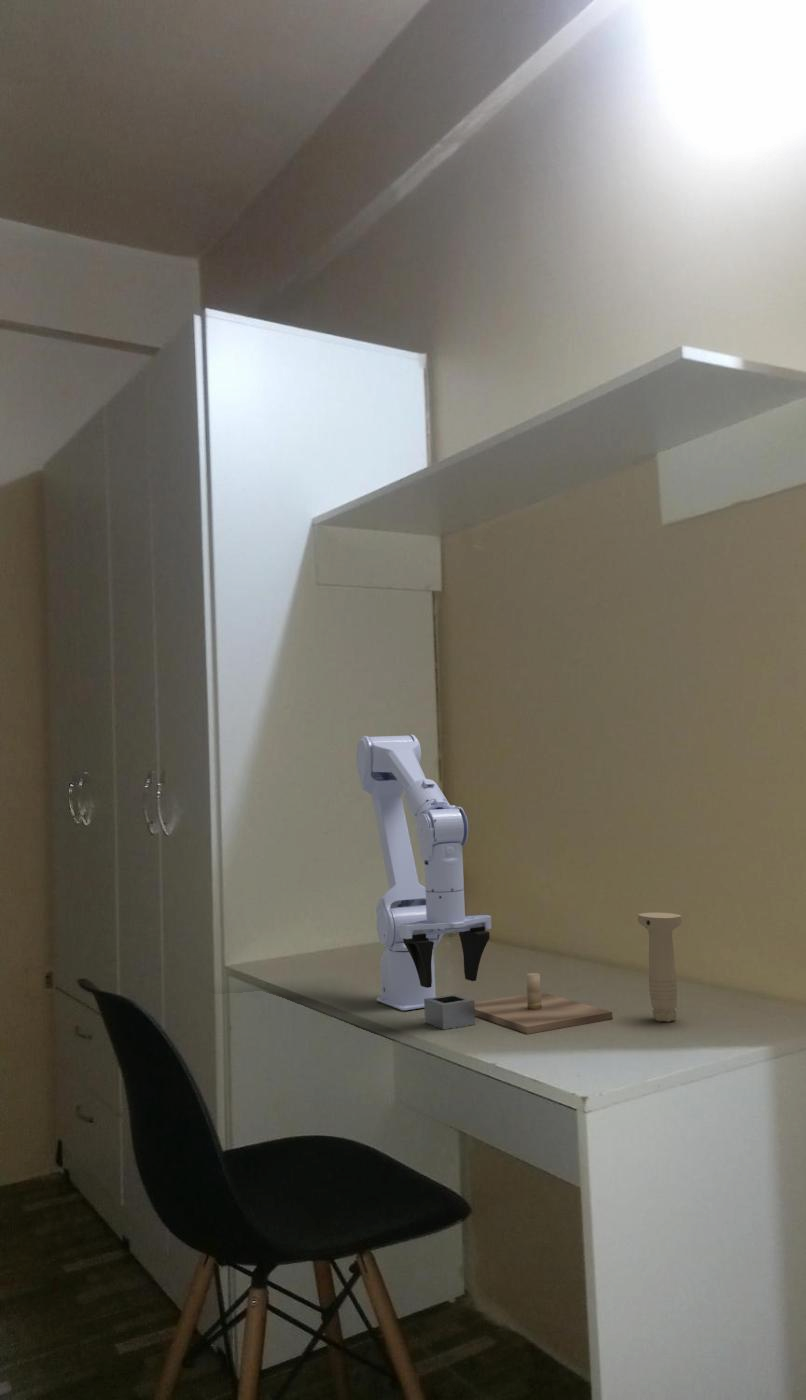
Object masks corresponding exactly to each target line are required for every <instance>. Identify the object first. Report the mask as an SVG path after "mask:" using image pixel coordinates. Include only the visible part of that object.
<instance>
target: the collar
mask: <svg viewBox="0 0 806 1400" xmlns="http://www.w3.org/2000/svg"><path fill="white" fill-rule="evenodd" d="M474 1002H475V999H472V998H469V997H466V996H462V995H460V994H457V993H455V994H454V993H453V994H448V995H440V996H436V997H433V998H427V999H424V1007H423V1009H424V1023H425V1022H426V1023H425V1024H427V1023H428V1024H427V1025H429V1024H431V1025H430V1026H432V1025H433V1027H435V1028H437V1027H438V1029H440V1028H441V1029H440V1030H442V1029H446V1030H450V1029H449V1028H451V1029H456V1027H457V1028H463V1027H468V1026H475V1025H476V1016H475V1004H474Z"/></svg>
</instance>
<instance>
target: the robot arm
mask: <svg viewBox="0 0 806 1400" xmlns="http://www.w3.org/2000/svg"><path fill="white" fill-rule="evenodd" d="M355 753H356V754H355V756H356V758H355V761H356V766H357V767H356V768H357V773H358V779H359V782H360V785H361V789H362V790H363V791H364V792H366V793H368V794H369V795H370V797H371V801H372V804H373V809H374V814H375V820H376V825H377V830H378V835H379V841H380V845H381V852H382V856H383V861H384V867H385V871H386V878H387V883H388V888H389V889H388V890H387V891H386V892H385V893H384V894H383V895H382V896H381V897H380V898H379V900H378V901H377V903H376V907H375V913H376V933H377V937H378V940H379V942H380V944H382V946H383V947H384V948H385V950H384V951H383V953H382V955H381V957H380V962H379V963H380V965H379V967H380V991H381V996H378V997H377V998H376V1002H380V1003H382V1004H383V1005H386V1006H390V1007H392V1008H395V1009H398V1010H400V1011H410V1010H416V1009H422V1008H423V1009H424V999H427V998H433V997H437V995H436V976H435V974H436V973H435V948H438V943H439V942H441V940H442V938H443V936H444V935H445V934H452V933H453V934H455V933H458V935H459V939H460V943H461V948H462V956H463V973H464V978H465V980H467V981H471V982H475V981H477V977H478V973H479V967H480V963H481V959H482V956H483V953H484V950H485V949H486V946H487V943H488V942H489V940H490V931H488V930H491V929H492V916H491V915H487V914H480V915H466V909H465V908H466V907H465V884H464V882H465V881H464V880H465V879H464V859H463V846H465V845H466V843H467V841H468V836H469V822H468V821H469V820H468V817H467V815H466V813H465V810H464V809H463V807H462V806H456V805H455V804H454V805H451V804H450V803H449V801H448V799H447V798H446V796H445V795H444V793H443V791H442V790H441V788H440V786H439V785H438V784H437V783H436V782H435V781H434V780H432V779H429V778H426V775H425V773H424V771H423V769H422V767H421V765H420V764H421V760H422V748H421V744H420V741H419V739H418V738H417V736H415V735H414V734H408V735H390V736H389V735H386V736H384V735H382V736H381V735H380V736H368V735H363V736H361V737H360V739H359V740H358V742H357V745H356V752H355ZM403 794H404V795H403ZM402 795H403V796H404V802H403V798H402ZM404 803H405V805H406V806H407V808H408V810H409V812H410V813H411V816H412V817H413V819H414V821H415V822H416V836H417V841H418V844H419V849H420V856H421V860H423V862H424V866H423V867H424V884H425V885H422V884H421V883H419V877H418V872H417V867H416V864H415V863H416V862H415V858H414V854H413V853H414V852H413V847H412V843H411V838H410V833H409V829H408V824H407V817H406V813H405V809H404Z"/></svg>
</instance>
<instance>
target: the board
mask: <svg viewBox="0 0 806 1400" xmlns="http://www.w3.org/2000/svg"><path fill="white" fill-rule="evenodd" d="M525 976H526V991H527V993H526V994H520V995H514V996H513V995H512V996H508V997H507V996H506V997H501V998H494V999H487V1000H481V1001H474V1004H475V1017H477V1018H480V1019H483V1020H486V1021H488V1022H492V1023H494V1024H497V1025H500V1026H503V1027H506V1028H509V1029H512V1030H514V1031H518V1032H520V1033H522V1034H526V1035H529V1034H535V1033H542V1032H547V1031H551V1030H552V1031H553V1030H557V1029H563V1028H569V1027H574V1026H580V1025H581V1026H582V1025H584V1024H585V1025H586V1024H590V1023H598V1022H603V1021H607V1020H613V1012H612V1011H611V1010H607V1009H603V1008H600V1007H596V1006H593V1005H590V1004H589V1005H588V1004H586V1003H582V1002H578V1001H575V1000H572V999H567V998H564V997H560V996H557V995H554V994H550V993H547V992H543V991H541V974H540V973H537V972H534V973H533V972H532V973H531V972H530V973H529V972H528V973H527V974H526V975H525Z"/></svg>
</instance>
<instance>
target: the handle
mask: <svg viewBox="0 0 806 1400" xmlns="http://www.w3.org/2000/svg"><path fill="white" fill-rule="evenodd" d="M637 922H638V923H639V924H640V925H641V926H642V927H644V928H645V929H646V930H647V931H648V932H647V933H648V983H649V984H648V988H649V997H650V1003H651V1007H652V1008H653V1009H652V1010H651V1011H652V1015H653V1019H654V1020H655V1021H657V1022H666V1023H670V1022H673V1021H676V1020H677V1011H676V1008H677V1006H678V1005H677V1003H678V982H677V981H678V980H677V970H676V969H677V968H676V961H675V953H674V952H675V951H674V941H673V931H674V930H675V929H677V928H679V927H680V926H681V925H682V923H683V922H682V915H680V914H678V913H671V912H655V911H654V912H643V913H638V914H637Z"/></svg>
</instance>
